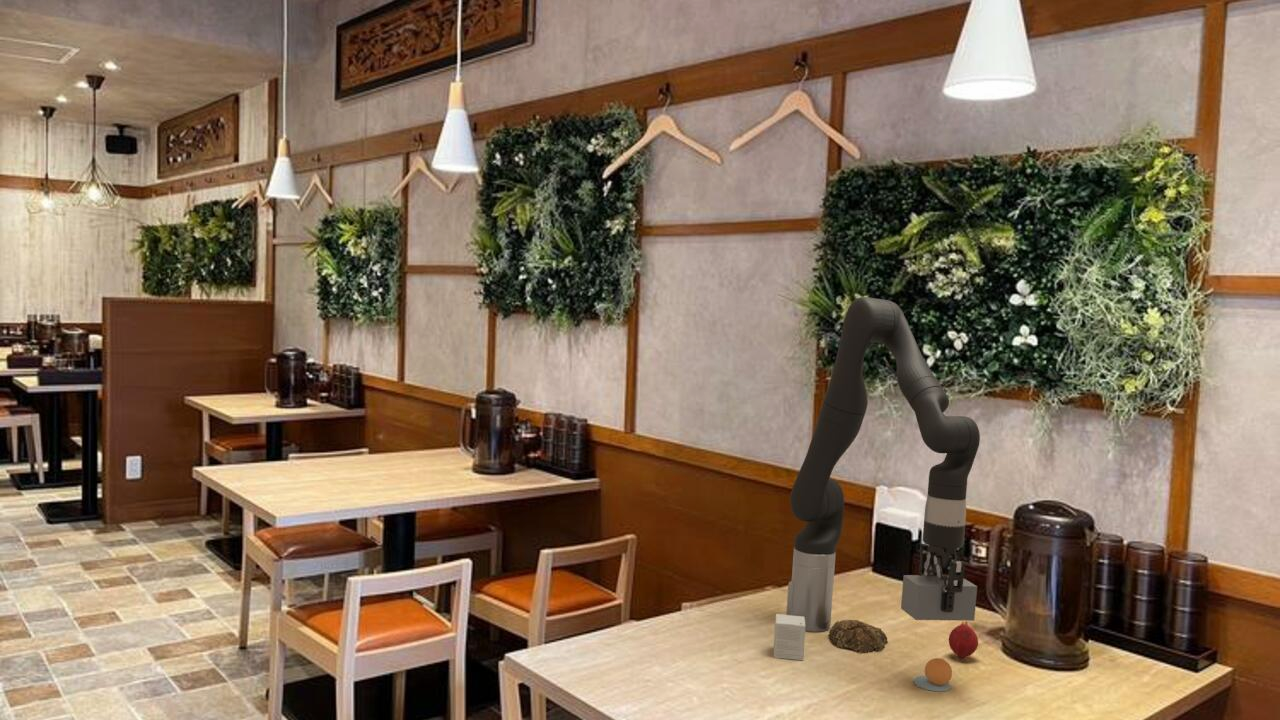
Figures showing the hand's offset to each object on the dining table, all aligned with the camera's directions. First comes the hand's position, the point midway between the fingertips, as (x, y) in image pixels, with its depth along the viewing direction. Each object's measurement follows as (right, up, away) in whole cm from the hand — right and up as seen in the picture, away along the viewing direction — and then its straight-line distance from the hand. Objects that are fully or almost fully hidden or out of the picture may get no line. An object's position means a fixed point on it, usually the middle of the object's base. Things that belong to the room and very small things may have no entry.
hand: (937, 605), depth 184 cm
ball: (0, -13, +1) cm, 13 cm away
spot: (-1, -15, +1) cm, 16 cm away
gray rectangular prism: (0, -2, 0) cm, 2 cm away
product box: (-27, -14, +13) cm, 33 cm away
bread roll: (-11, -14, +22) cm, 28 cm away
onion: (+10, -15, +16) cm, 24 cm away
